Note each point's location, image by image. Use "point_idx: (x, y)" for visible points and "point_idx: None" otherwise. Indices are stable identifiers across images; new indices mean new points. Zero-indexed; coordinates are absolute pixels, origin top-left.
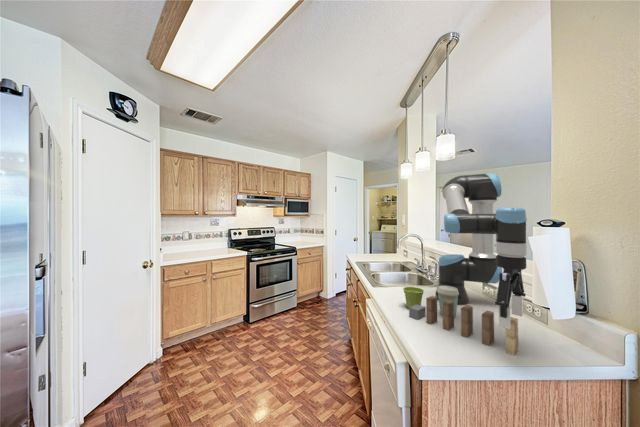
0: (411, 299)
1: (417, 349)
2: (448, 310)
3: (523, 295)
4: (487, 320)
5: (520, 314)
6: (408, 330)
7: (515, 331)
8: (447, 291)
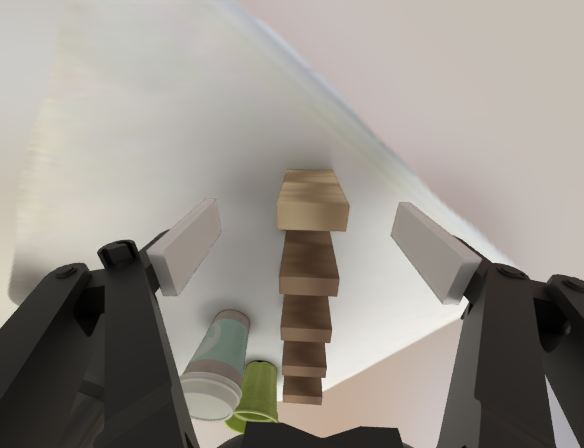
0: (275, 396)
1: (461, 306)
2: (322, 346)
3: (130, 252)
4: (337, 269)
5: (213, 207)
6: (385, 340)
7: (316, 189)
8: (231, 399)
